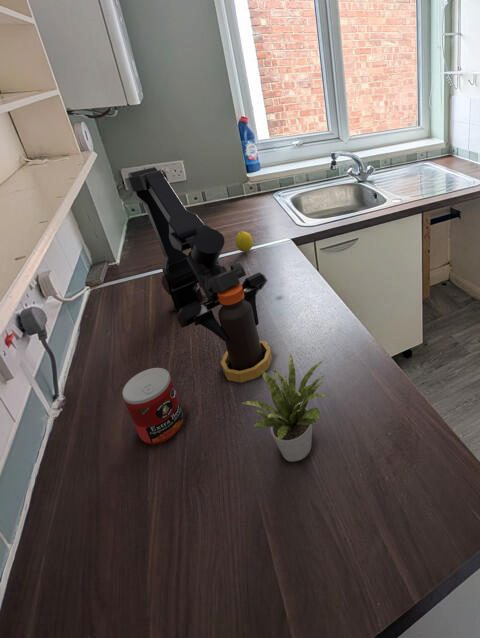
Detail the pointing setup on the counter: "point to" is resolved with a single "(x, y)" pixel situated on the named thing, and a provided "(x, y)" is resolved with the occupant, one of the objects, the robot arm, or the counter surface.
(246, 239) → the lemon
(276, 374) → the house plant
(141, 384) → the canned food
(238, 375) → the yellow flat ring
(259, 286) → the robot arm
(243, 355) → the vinegar
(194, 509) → the counter surface
